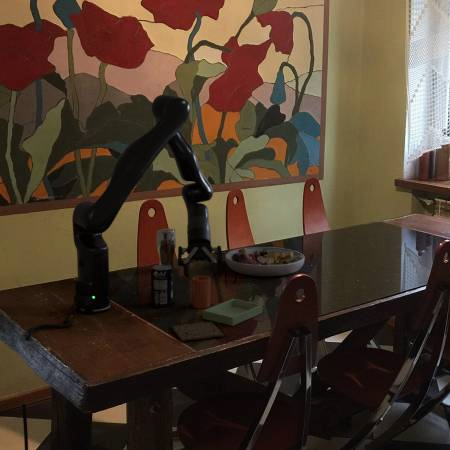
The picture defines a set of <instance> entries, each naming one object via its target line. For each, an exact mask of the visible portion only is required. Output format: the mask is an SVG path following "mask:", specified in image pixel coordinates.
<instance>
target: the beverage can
mask: <svg viewBox="0 0 450 450" xmlns="http://www.w3.org/2000/svg"><path fill="white" fill-rule="evenodd" d="M173 288H174V287H173V271H172V270H171V266H168V265H159V264H157V265H153V266H152V270H151V272H150V289H151V290H150V293H151V296H150V297H151V300H150V301H151V304H152V305H153V306H155V307H168V306H170V305H171V304H172V303H173V301H174V300H173V296H174V295H173V290H174V289H173Z"/></svg>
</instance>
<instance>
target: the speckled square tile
mask: <svg viewBox="0 0 450 450" xmlns="http://www.w3.org/2000/svg"><path fill="white" fill-rule="evenodd" d="M171 329H172V331H173V332H174V333H175V335H176V336H177V338H179V340H180V341H181V342H187V341H194V340H203V339H204V340H205V339H210V338H222V337H225V336H224V333H223V332H222V330H220V329H219V328H218V326H217V325H216V324H215V323H214V322H213V321H208V320H206V321H199V322H195V323H194V322H193V323H184V324H182V323H180V324H176V325H172V326H171Z"/></svg>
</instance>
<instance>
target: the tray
mask: <svg viewBox="0 0 450 450" xmlns="http://www.w3.org/2000/svg"><path fill="white" fill-rule="evenodd" d="M261 314H263V304H261V303H256V302H251V301H247V300H242V299H237V298H231V299H228V300H226V301H223V302H220V303H218V304H215V305H213V306H210V307H207V308H205V309H203V310H202V319H203V320H206V321H210V322H215V323H220V324H224V325H228V326H230V327H231V326H232V327H233V326H236V325H238V324H241V323H242V322H243V323H244V322H245V321H247V320H250V319H253V317H256V316H258V315H261Z"/></svg>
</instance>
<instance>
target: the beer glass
mask: <svg viewBox="0 0 450 450" xmlns="http://www.w3.org/2000/svg"><path fill="white" fill-rule="evenodd" d="M176 241H177V237H176V230H175V229H173V228H160V229H157V230H156V249H157V255H158V261H159V262H158V265H168V266H171V270H172V272H174V271H175V270H176V267H175V262H174V260H175V253H176V247H177V246H176V244H177V242H176Z"/></svg>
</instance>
